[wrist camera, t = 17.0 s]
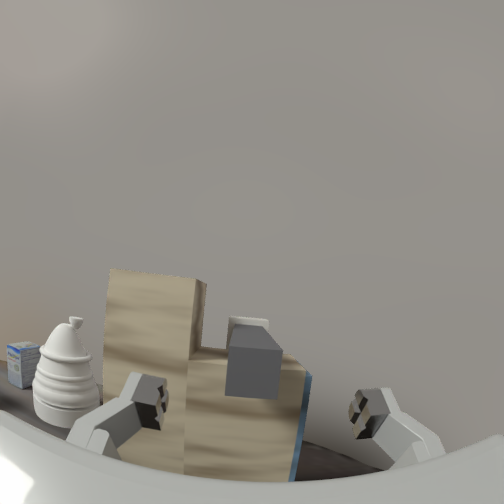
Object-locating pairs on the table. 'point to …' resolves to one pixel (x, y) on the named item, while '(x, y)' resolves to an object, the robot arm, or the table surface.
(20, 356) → the medicine box
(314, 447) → the table surface
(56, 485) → the robot arm
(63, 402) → the honey pot
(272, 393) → the dark gray bar
